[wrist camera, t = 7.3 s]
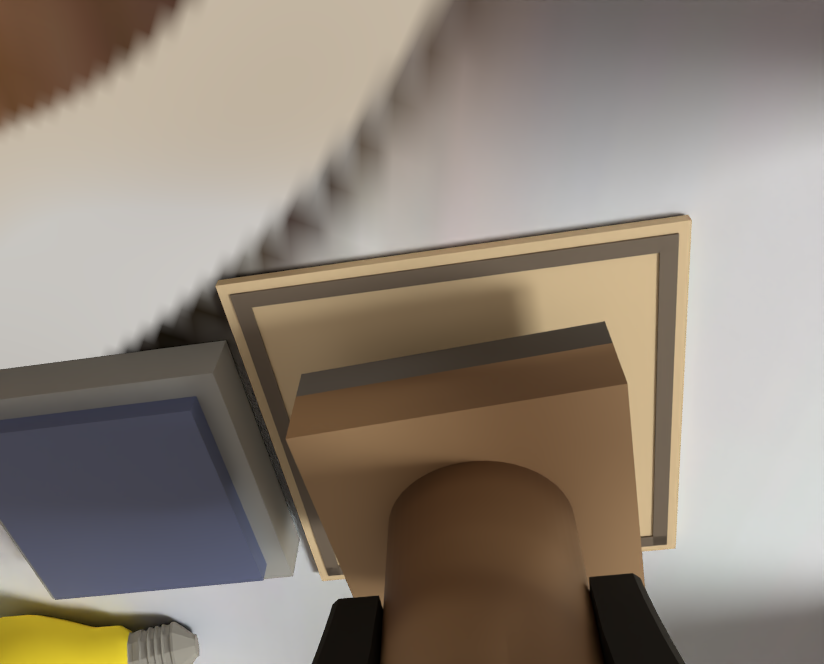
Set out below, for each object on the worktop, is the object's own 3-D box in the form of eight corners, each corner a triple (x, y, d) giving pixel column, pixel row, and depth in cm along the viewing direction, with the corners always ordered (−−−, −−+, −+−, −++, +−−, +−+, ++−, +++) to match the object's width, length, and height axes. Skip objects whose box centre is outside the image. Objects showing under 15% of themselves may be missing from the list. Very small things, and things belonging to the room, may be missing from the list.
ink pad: (71, 561, 17) (44, 614, 16) (-49, 375, 14) (-92, 424, 13) (299, 539, 17) (290, 592, 15) (225, 340, 14) (206, 387, 12)
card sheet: (323, 574, 17) (322, 582, 17) (217, 279, 13) (214, 287, 13) (672, 541, 16) (675, 550, 16) (688, 214, 12) (692, 221, 12)
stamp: (376, 567, 15) (345, 968, 10) (301, 374, 12) (201, 783, 7) (625, 533, 14) (742, 947, 9) (604, 321, 12) (754, 731, 6)
